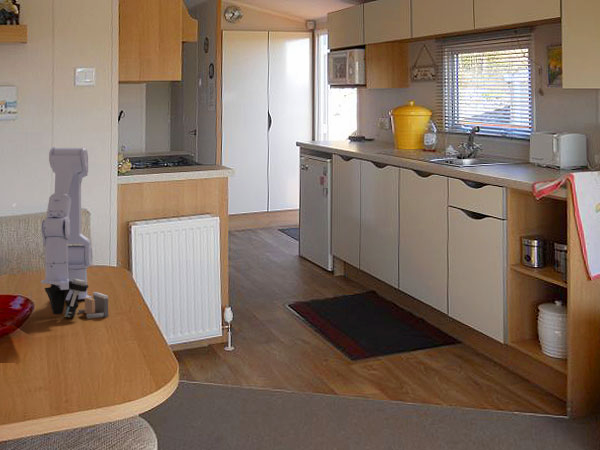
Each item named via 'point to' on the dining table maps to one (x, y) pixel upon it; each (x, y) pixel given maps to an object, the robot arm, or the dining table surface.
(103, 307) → the grey l-shaped bracket
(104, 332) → the dining table surface
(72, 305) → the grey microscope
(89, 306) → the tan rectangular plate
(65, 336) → the dining table surface
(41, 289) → the dining table surface
